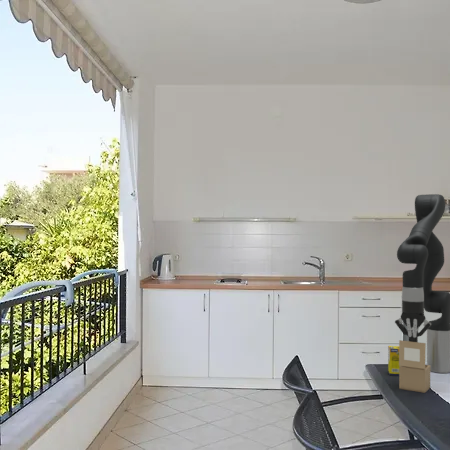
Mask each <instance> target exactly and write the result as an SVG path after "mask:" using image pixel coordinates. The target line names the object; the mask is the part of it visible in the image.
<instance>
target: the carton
mask: <svg viewBox="0 0 450 450" xmlns="http://www.w3.org/2000/svg"><path fill="white" fill-rule="evenodd" d="M398 377H399V378H398V379H399V381H398V384H399V386H398V387H399V388H398V389H399V390H405V391H410V392H417V393H424V394H425V393H427V392H428V390H430V388H431V371H430V365H427V364H425V369H421V368H414V367H406V366H400V367H399V376H398Z"/></svg>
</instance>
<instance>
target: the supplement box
mask: <svg viewBox="0 0 450 450" xmlns="http://www.w3.org/2000/svg"><path fill="white" fill-rule="evenodd" d="M387 347H388V348H387V349H388V351H387V352H388V353H387V355H388V356H387V357H388V360H387V362H388V363H387V365H388V366H387V372H388V374H389V376H395V377H399V367H400V366H399V345H398V346H397V345H388V346H387Z"/></svg>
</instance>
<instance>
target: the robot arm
mask: <svg viewBox="0 0 450 450" xmlns="http://www.w3.org/2000/svg"><path fill="white" fill-rule="evenodd" d="M445 210H446V199H445V197H444V196H443V195H442V194H438V193H437V194H436V193H435V194H433V193H432V194H418V195H416V196H415V198H414V213H415V218H416V223H415V224H414V225H413V226H412V228H411V230H410V233H409V235H408V237H406V239H405V240H403V242H402V243H401V244H400V245H399V246H398V247H397V248H398V249H397V251H396V258H397V259H398V262H399V263H402V264H407V265H410V264H411V265H412V264H413V265H415V264H416V266H415V267H414V268H413V269H408V270H404V271H403V272H402V290H401V314H400V317H399V318H398V319H396V320H395V321H394V324H396V326H397V327H398V328H399V330H400V332H402V334H403V335H405V336H407V337H408V341H410V342H419V341H418V339H419V337H421V336H423V335H424V334H425V333H426V365H430V372H431V373H437V374H439V373H441V374H446V373H447V374H448V373H450V292H449V291H441V290H433V289H432V287H433V283H434V281H435V280H436V277H437V275H438V274H439V273H440V272H441V270H442V269H443V267H444V264H445V249H444V246H443V243H442V242H441V241H440V239H439V238H438V237H437V236H436V234H435V233H434V232H433V231H434V229H435V227H436V226H437V225H438V223H439V222H440V220H441V219H442V217H443V216H444V214H445ZM425 312H427V313H433V314H441V316H440V317H438V318H437V319H433V320H429V321H428V320H427V318H426V316H425ZM403 323H404V324H403ZM404 325H405V326H406V327H405V326H404ZM422 325H423V328H421V330H420V327H421V326H422ZM419 330H420V331H419Z"/></svg>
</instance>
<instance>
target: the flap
mask: <svg viewBox="0 0 450 450" xmlns="http://www.w3.org/2000/svg"><path fill="white" fill-rule="evenodd" d="M398 342H399V344H398V346H399V366H406V367H414V368H421V369H425V365H426V350H427V342H419V341H418V342H410V341H409V340H398Z"/></svg>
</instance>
